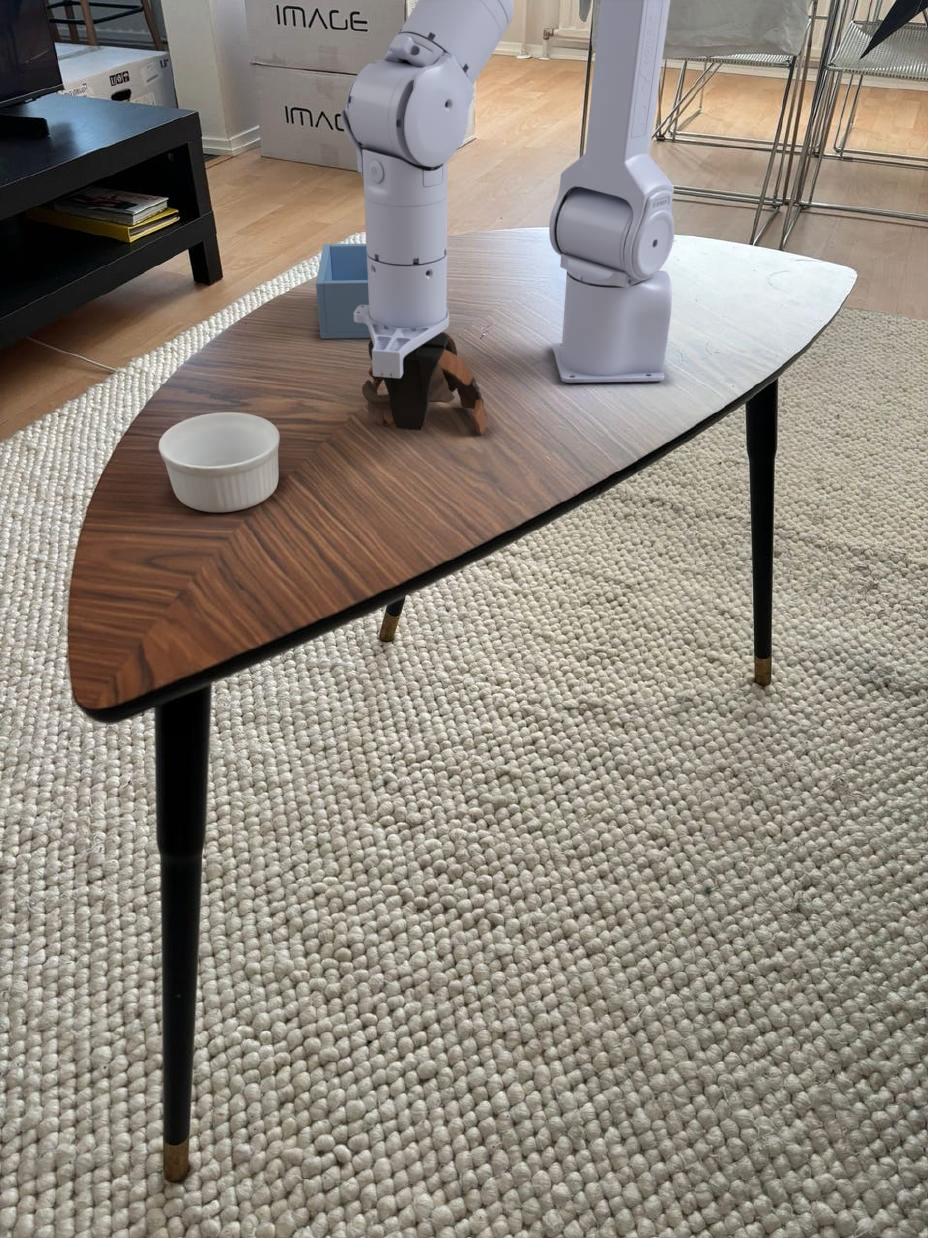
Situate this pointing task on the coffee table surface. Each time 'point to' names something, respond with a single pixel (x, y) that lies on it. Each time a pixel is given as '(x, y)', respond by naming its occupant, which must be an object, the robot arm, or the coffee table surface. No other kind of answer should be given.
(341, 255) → the bin
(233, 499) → the ramekin
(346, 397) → the coffee table surface
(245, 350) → the coffee table surface
